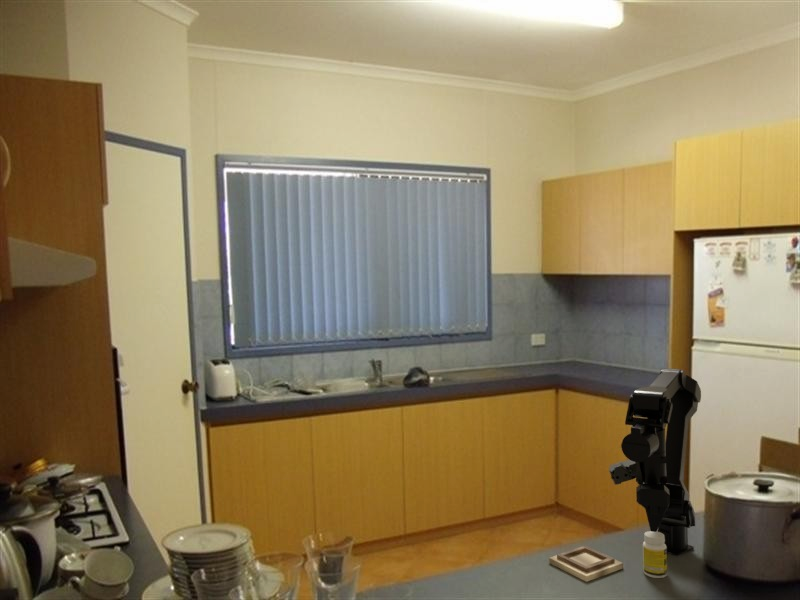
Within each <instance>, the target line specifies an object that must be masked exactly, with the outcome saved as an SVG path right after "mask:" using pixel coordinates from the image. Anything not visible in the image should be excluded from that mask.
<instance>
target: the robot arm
mask: <svg viewBox="0 0 800 600" xmlns="http://www.w3.org/2000/svg"><path fill="white" fill-rule="evenodd" d="M701 399H702V390H701V387H700V385H699V382H698V381H697V380H696V379H694V378H692V377H691V376H689V375H687V372H686V371H685V370H682V369H681V368H666V367H665V368H663V369H661V370H660V372H659V375H658V376H657V377H656V378H655V379H654V380H653V382H652V383H651V384H650V385H649V386H646V387H645V386H644V387H639V388H636V389H635V390H634V391H633V392H632V394H630V396H629V399H628V405H627V411H626V417H625V421H624V425H625V426H630V433H628V434H626V435H625V436H624V437H623V439H622V442H621V445H620V446H621V447H620V448H621V452H622V453H623V455H624V456H625V457H626V458H627V459H626V460H623V461H622V460H621V461H619V462H617V463H611V464H610V465H609V468H608V472H609V474H610V478H611V480H612V481H613V484H614V485H621V484H622V483H624V482H628V481H632V480H634V479H635V482H636V483H637V484H638V485H637V486H636V489H635V491H636V503H637V504H639V505H640V506H641V507H643V508H644V509H645V513H646V518H647V521H648V526H649V530H650V531H652V532H660V533H662V534H664V537H665V545H666V547H667V554H671V555H674V556H679V555H682V554H685V553H687V552H690V551H692V550H694V549H695V547H694V546H693V545H691V544H689V540H688V539H689V537H688V534H689V533H688V529H690V528H691V527H696V515H695V514H696V512H695V510H694V507H693V505H692V503H691V501H690V493H689V491H688V489H687V487H686V486H685V483H684V476H685V475H684V474H685V466H686V465H685V464H686V456H687V455H686V454H687V442H688V432H689V423H690V422H689V421H690V420H691V419H692V417H693V416H694V415H695V414H696V413H697V411H698V405H699V404H700V402H701Z"/></svg>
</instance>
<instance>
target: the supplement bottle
mask: <svg viewBox="0 0 800 600" xmlns="http://www.w3.org/2000/svg"><path fill="white" fill-rule="evenodd" d="M643 536H644V537H643V539H644V541H643V542H642V571H643V573H644V575H646V576H647V577H650V578H653V579H663V578H666V577H667V576H668V558H667V557H668V552H667V547H666V545H665V537H664V534H662V533H660V532H658V531H656V532H652V531H651V530H650V531H645V532H644V535H643Z"/></svg>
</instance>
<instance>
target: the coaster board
mask: <svg viewBox="0 0 800 600" xmlns="http://www.w3.org/2000/svg"><path fill="white" fill-rule="evenodd" d="M548 564H550V565H552V566H554V567H556V568H559V569H561V570H562V571H564V572H566V573H568V574H570V575H572V576H574V577H576V578H577V579H580V580H582V581H584V582H586V583H587V582H590V581H593V580H595V579H598V578H601V577H604V576H607V575H609V574H612V573H614V572H618V571H619V570H622V569H623V568H624V563H623V562H621V561H620V560H617V559H615V558H614V557H612V556H609V555H607V554H606V553H603V552H601V551H599V550H596V549H593V548H591V547H589V546H587V545H582V546H579V547H576V548H573V549H570V550H566V551H563V552H561V553H558V554H556V555H554V556H551V557H549V558H548Z"/></svg>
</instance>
